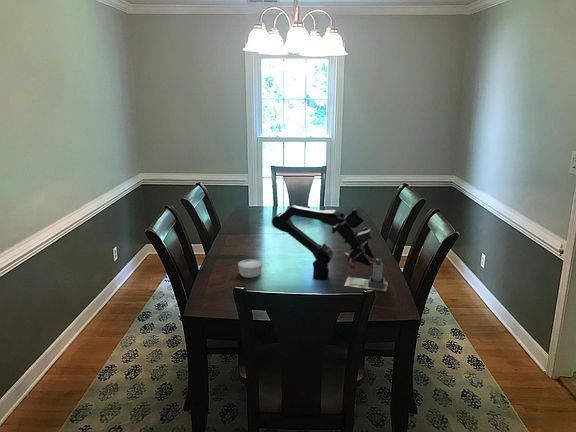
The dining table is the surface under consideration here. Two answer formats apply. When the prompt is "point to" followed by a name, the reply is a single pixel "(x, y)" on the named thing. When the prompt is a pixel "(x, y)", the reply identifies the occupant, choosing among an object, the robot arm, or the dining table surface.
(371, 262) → the pliers
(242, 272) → the ramekin
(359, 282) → the pad
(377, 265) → the capped bottle
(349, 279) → the board
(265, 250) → the dining table surface
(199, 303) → the dining table surface
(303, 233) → the robot arm
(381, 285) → the gray square frame
